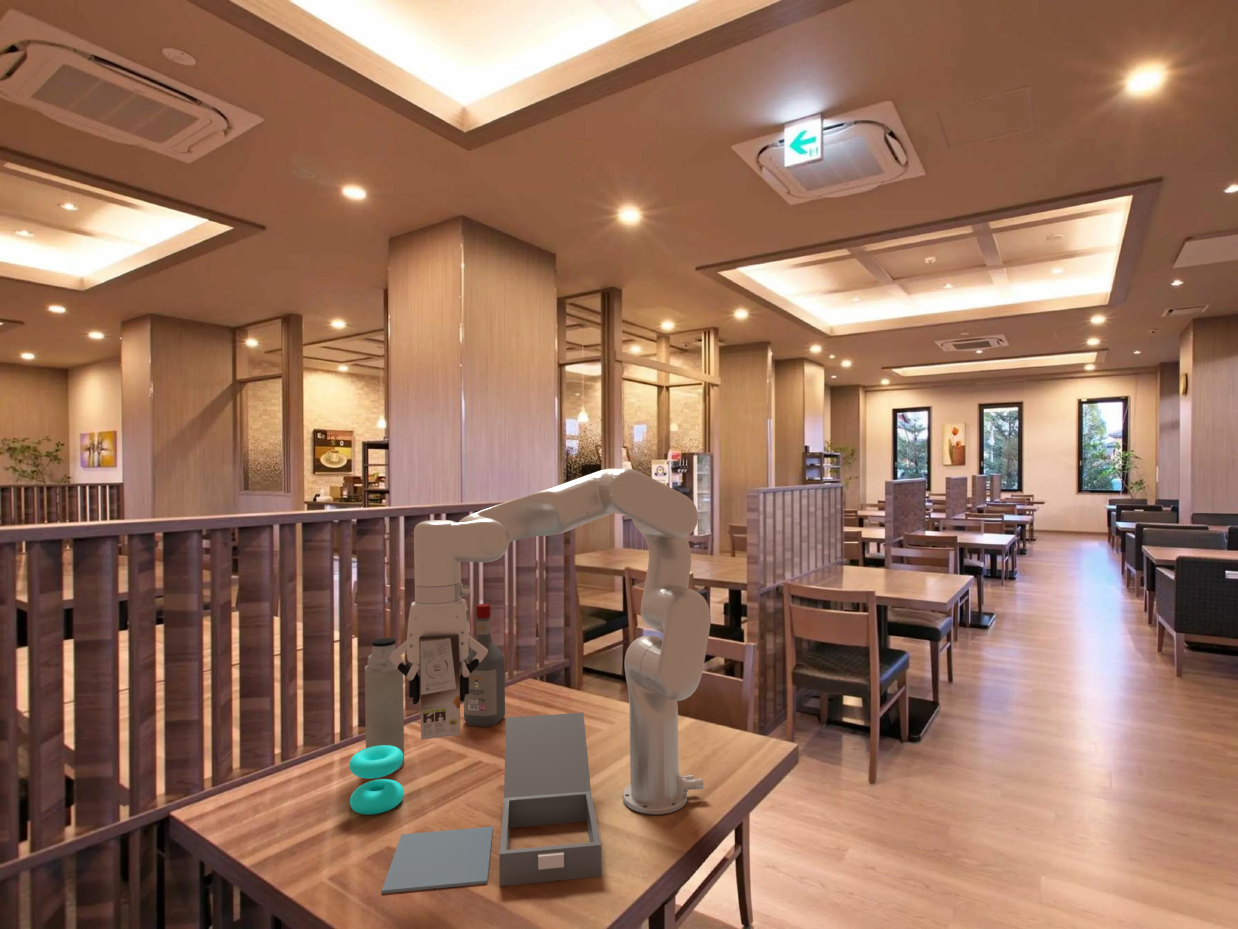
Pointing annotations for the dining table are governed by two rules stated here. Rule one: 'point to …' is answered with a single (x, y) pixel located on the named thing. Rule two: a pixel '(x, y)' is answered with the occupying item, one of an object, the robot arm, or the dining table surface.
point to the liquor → (485, 678)
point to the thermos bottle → (384, 698)
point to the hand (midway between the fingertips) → (439, 699)
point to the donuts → (380, 791)
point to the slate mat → (440, 860)
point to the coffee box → (439, 686)
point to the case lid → (546, 755)
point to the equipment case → (549, 859)
